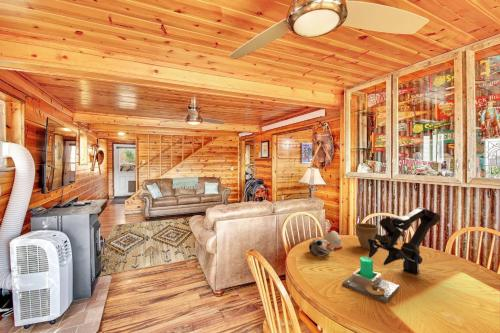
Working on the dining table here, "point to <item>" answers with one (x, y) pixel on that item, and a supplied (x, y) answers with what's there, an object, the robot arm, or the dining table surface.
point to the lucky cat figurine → (320, 247)
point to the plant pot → (365, 233)
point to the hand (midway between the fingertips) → (376, 260)
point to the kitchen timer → (333, 238)
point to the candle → (366, 267)
